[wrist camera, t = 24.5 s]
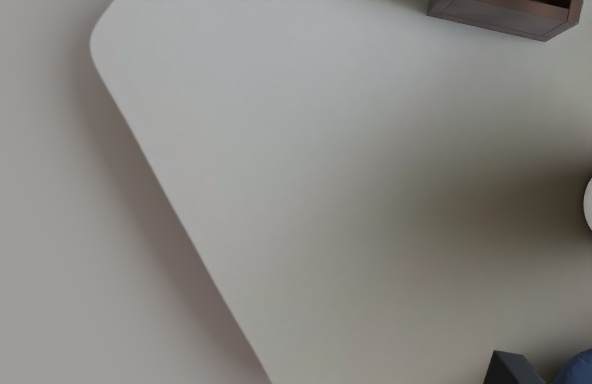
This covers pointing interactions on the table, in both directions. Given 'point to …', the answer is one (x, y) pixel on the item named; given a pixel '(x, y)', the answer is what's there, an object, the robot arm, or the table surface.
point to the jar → (588, 204)
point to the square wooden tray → (512, 15)
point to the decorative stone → (576, 370)
